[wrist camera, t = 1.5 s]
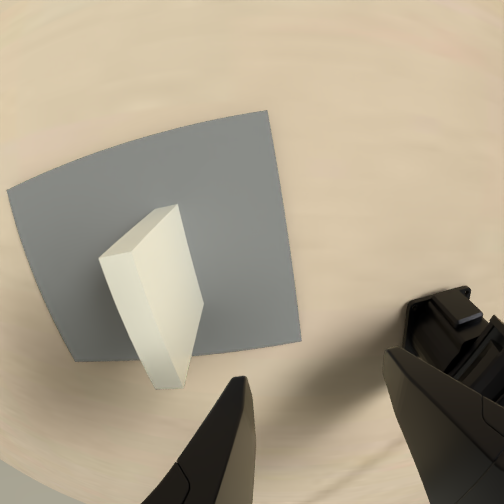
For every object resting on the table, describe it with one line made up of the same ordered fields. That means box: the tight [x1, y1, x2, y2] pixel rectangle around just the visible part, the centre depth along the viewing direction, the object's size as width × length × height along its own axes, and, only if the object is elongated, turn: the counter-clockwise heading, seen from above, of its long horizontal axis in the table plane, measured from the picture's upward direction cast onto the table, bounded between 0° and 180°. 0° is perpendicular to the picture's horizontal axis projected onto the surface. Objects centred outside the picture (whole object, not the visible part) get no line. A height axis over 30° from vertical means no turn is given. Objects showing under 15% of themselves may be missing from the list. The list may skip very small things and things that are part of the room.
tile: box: [99, 204, 204, 390], centre depth 16 cm, size 7×2×8 cm, turn 10°
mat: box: [7, 110, 302, 362], centre depth 20 cm, size 16×20×1 cm
